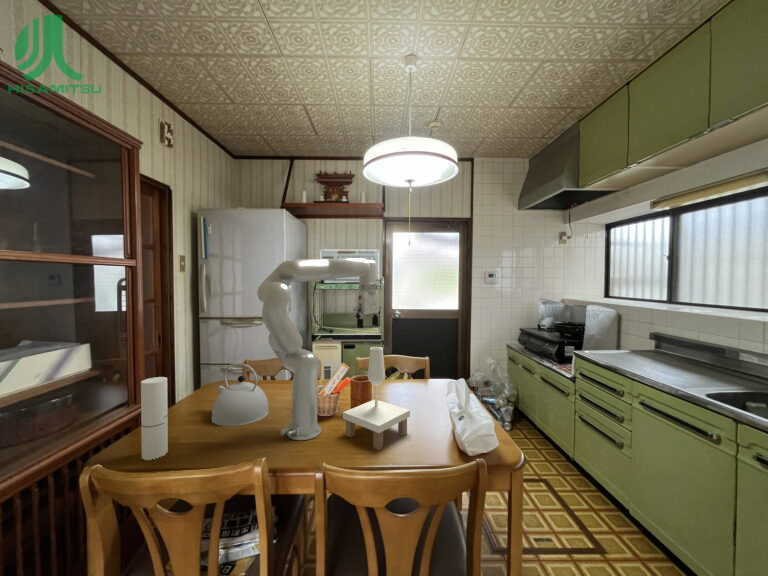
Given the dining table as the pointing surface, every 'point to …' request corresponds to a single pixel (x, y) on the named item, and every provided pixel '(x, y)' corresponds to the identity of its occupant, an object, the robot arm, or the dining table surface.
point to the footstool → (376, 420)
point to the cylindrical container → (154, 418)
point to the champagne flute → (376, 375)
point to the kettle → (239, 402)
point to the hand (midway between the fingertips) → (367, 326)
